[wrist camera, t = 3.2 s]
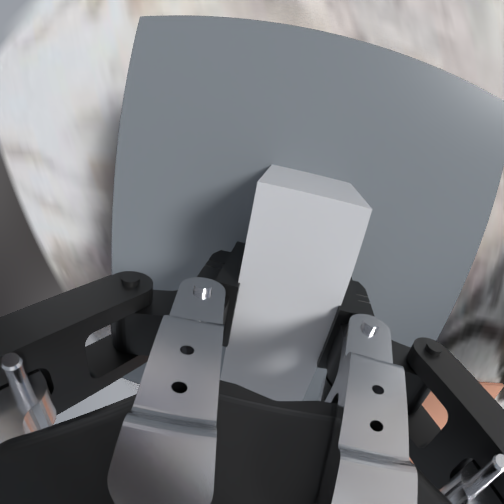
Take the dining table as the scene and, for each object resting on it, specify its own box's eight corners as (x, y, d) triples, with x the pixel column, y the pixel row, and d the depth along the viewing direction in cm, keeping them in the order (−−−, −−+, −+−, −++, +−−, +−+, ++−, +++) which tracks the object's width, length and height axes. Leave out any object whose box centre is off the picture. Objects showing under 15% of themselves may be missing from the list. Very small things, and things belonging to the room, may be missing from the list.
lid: (492, 107, 11) (574, 109, 5) (372, 411, 18) (382, 488, 13) (159, 27, 12) (85, -12, 6) (131, 356, 19) (88, 422, 14)
